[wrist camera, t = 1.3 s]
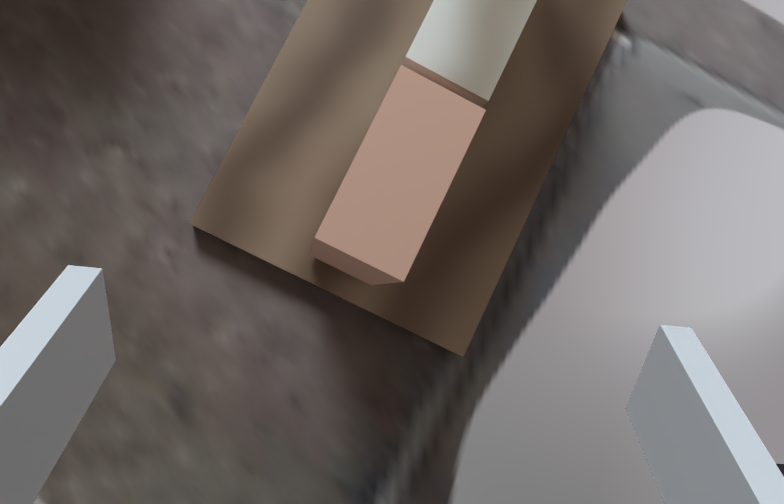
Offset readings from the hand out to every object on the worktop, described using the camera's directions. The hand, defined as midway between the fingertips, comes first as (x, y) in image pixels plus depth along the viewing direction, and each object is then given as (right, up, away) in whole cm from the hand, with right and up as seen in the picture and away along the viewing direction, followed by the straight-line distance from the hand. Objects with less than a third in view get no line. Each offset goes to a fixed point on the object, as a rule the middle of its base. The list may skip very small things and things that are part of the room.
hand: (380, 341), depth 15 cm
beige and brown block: (+2, +11, +25) cm, 28 cm away
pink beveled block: (-1, +5, +23) cm, 23 cm away
